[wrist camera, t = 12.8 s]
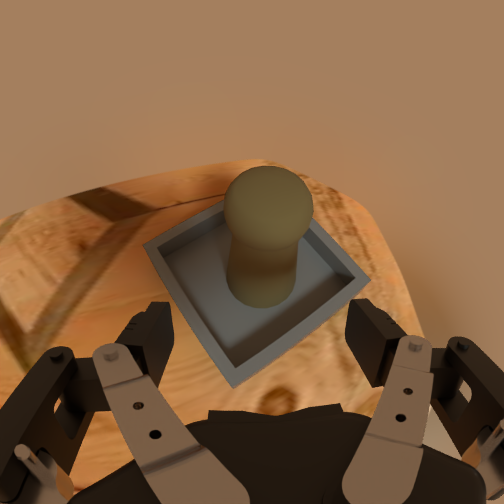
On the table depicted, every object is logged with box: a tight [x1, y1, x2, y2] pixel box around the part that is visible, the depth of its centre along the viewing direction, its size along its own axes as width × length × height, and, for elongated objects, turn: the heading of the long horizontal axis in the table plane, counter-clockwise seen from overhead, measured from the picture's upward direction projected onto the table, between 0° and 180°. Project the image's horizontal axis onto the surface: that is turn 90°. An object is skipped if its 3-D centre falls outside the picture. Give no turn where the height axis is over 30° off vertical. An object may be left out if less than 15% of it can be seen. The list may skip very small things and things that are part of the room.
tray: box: [143, 200, 371, 389], centre depth 24 cm, size 14×14×3 cm
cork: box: [223, 166, 314, 308], centre depth 19 cm, size 6×6×11 cm
